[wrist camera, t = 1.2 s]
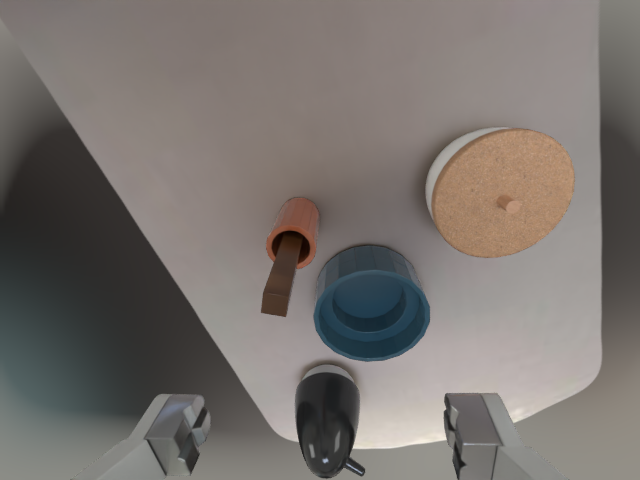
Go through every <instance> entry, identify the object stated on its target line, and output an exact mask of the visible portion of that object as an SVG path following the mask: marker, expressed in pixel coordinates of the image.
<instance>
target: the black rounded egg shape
mask: <svg viewBox="0 0 640 480" xmlns="http://www.w3.org/2000/svg"><path fill="white" fill-rule="evenodd" d="M359 413H360V394H359V390H358V388H357V386H356V385H355V383H354V381H353V379H352V377H351V376H350V375H349V374H348V373H347V372H346V371H345V370H344V369H342V368H340V367H338V366H335V365H320V366H317V367H314V368H313V369H311V370H310V371H309V372H307V373H306V375H305V376H304V377H303V379H302V381H301V382H300V383H299V385H298V387H297V389H296V395H295V420H296V428H297V434H298V439H299V443H300V447H301V450H302V454H303V457H304V459H305V461H306V463H307V466H308V467H309V469H310V470H311V472H312V473H313V474H315V475H316V476H318V477H321V478H332V477H334V476H336V475H337V474H338V473H339V472H340V471H341V470H342V469H343V468H346V469H349V470H350V471H352V472H354V473H356V474H358V475H360V476H363V475H364V473H365V468H364V467H363V466H361V465H360V464H359V463H357V462H356V461H355V460H353V459H352V458H351V457H350V452H351V450H352V448H353V445H354V441H355V438H356V434H357V429H358V423H359Z"/></svg>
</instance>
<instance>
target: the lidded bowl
mask: <svg viewBox="0 0 640 480" xmlns="http://www.w3.org/2000/svg"><path fill="white" fill-rule="evenodd" d="M574 182H575V177H574V168H573V165H572V161H571V159H570V157H569V155H568V153H567V152H566V150H565V149H564V148H563V147H562V145H561V144H560V143H558V142H557V141H556V140H554V139H553V138H552V137H550V136H548V135H546V134H543V133H540V132H537V131H533V130H529V129H519V128H507V127H494V128H485V129H480V130H476V131H473V132H470V133H467V134H465V135H463V136H461V137H459V138H457V139H456V140H454V141H453V142H452V143H450V144H449V145H448V146H447V147H446V148H445V149H444V150H442V151H441V153H440V154H439V155H438V157H437V158H436V159H435V161H434V163H433V164H432V166H431V168H430V171H429V173H428V176H427V181H426V189H425V192H426V202H427V206H428V209H429V212H430V215H431V217H432V219H433V221H434V223H435V225H436V227H437V229H438V231H439V232H440V234H441V235H442V236H443V238H444V239H445V240H446V241H447V242H448V243H449V244H450V245H451V246H452V247H454V248H455V249H457V250H458V251H460V252H463V253H465V254H467V255H471V256H475V257H484V258H492V257H501V256H507V255H510V254H514V253H517V252H520V251H522V250H524V249H526V248H528V247H530V246H532V245H534V244H535V243H537V242H538V241H540V240H541V239H542V238H544V237H545V236H546V235H547V234H548V233H549V232H550V231H551V230H553V229H554V227H555V226H556V225H557V224H558V222H559V221H560V220H561V218H562V217H563V215H564V214H565V212H566V211H567V208H568V206H569V204H570V201H571V198H572V195H573V191H574Z"/></svg>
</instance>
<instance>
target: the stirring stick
mask: <svg viewBox="0 0 640 480" xmlns="http://www.w3.org/2000/svg"><path fill="white" fill-rule="evenodd" d="M303 237H304V235H303V234H301V233H299V232H297V231H291V230H288V231H285V233H284V236H283V239H282V241H281V244H280V247H279V250H278V253H277V255H276V258H275V261H274V264H273V267H272V269H271V272H270V275H269V278H268V281H267V283H266V286H265V289H264V292H263V299H262V308H261V313H265V314H271V315H277V316H283V317H286V314H287V310H288V305H289V301H290V296H291V292H292V287H293V283H294V278H295V274H296V269H297V265H298V260H299V256H300V251H301V247H302V242H303Z"/></svg>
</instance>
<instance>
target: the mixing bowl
mask: <svg viewBox="0 0 640 480" xmlns="http://www.w3.org/2000/svg"><path fill="white" fill-rule="evenodd" d="M314 322H315V328H316V331H317V333H318V334H319V336H320V338H321V339H322V341H323V342H324V343H325V344H326V345H327V346H328V347H329V348H331V349H332V350H333V351H334V352H336V353H338V354H340V355H342V356H345V357H347V358H349V359H354V360H360V361H366V362H369V361H383V360H387V359H390V358H393V357H397V356H400V355H401V354H403V353H405V352H406V351H408V350H409V349H411V348H413V347H414V346H415V345H416V344H417V343H418V342H419V340H420V339H421V338H422V337H423V336H424V334H425V332H426V329H427V327H428V325H429V322H430V306H429V304H428V301H427V299H426V297H425V294H424V292H423V289H422V287H421V285H420V282H419V280H418V278H417V275H416V273H415V271H414V268H413V266H412V265H411V264H410V263H409V262H408V261H407V260H406V259H405V258H404V257H403V256H402V255H400V254H398V253H396V252H394V251H392V250H390V249H388V248H383V247H377V246H371V245H370V246H361V247H353V248H351V249H348V250H346V251H344V252H341V253H339V254H337V255H336V256H335V257H334V258H332V259H331V260H330V261H329V262H328V263H327V264H326V265H325V267H324V268H323V270H322V271H321V273H320V275H319V277H318V282H317V287H316V296H315V306H314Z"/></svg>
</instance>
